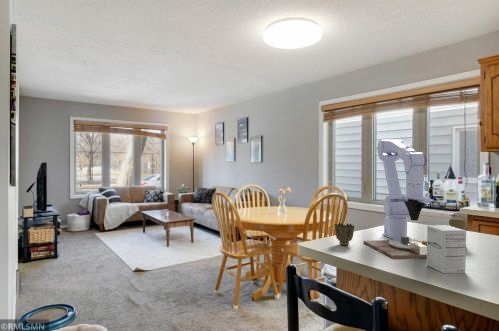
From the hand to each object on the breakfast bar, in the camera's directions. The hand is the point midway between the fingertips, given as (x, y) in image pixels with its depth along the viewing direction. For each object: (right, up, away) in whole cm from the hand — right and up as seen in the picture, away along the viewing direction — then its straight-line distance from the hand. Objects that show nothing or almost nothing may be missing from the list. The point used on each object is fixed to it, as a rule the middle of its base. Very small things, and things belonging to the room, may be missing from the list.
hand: (414, 220), depth 116 cm
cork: (+17, -11, +1) cm, 20 cm away
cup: (-26, -11, +3) cm, 28 cm away
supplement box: (-3, -11, -23) cm, 26 cm away
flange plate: (-5, -9, -5) cm, 11 cm away
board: (-5, -10, -2) cm, 12 cm away
